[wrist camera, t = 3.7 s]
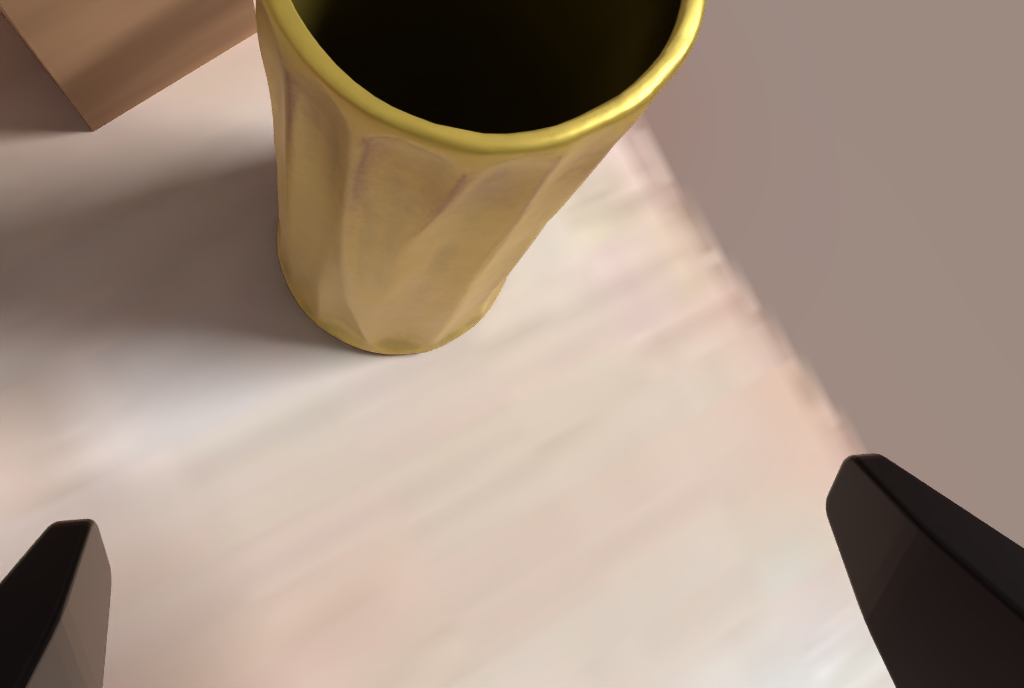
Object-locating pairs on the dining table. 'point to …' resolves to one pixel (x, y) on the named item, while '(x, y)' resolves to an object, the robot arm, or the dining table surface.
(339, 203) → the vase
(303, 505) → the dining table surface
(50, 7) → the walnut block
